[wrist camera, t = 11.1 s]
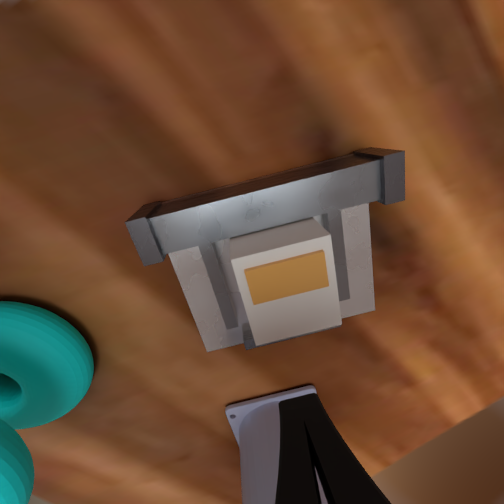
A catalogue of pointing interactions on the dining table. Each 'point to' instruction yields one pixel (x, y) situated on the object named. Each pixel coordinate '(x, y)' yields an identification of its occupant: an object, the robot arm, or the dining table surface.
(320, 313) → the block
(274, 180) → the rail
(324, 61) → the dining table surface
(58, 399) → the donuts
